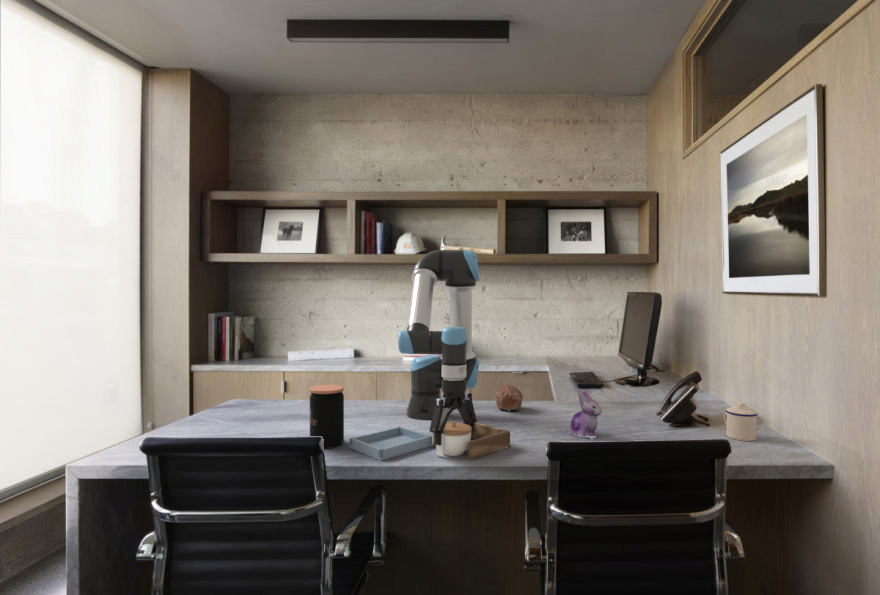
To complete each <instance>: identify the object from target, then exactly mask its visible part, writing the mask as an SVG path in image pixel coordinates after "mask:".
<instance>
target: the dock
mask: <svg viewBox="0 0 880 595" xmlns="http://www.w3.org/2000/svg"><path fill="white" fill-rule="evenodd" d="M463 424H465V423H464V422H463ZM432 435H433V437H432V446H433V448H435V449H436V444H435V433H432ZM474 438H475V439H474ZM472 439H473V440H472ZM509 446H510V447H511V431H510V430H507V429H503V428H500V427H495V426H492V425H488V424H483V423H482V422H481V423H480V422H476V423H475V425H474V427H473V426H472V435H471V441H469V448H468V460H471V461H473V460H476V459H479V458H483V457H486V456H487V454H488V455H491V454H494V453H496V452H495V451H497V452H499V451H498V450H500V451H502V450H501V449H503V448H506V447H509ZM510 447H509V448H510ZM506 449H507V448H506ZM503 450H504V449H503ZM493 452H494V453H493ZM490 453H491V454H490Z"/></svg>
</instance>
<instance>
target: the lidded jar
mask: <svg viewBox="0 0 880 595" xmlns="http://www.w3.org/2000/svg"><path fill="white" fill-rule="evenodd" d="M463 423H464V422H463ZM463 423H462V422H456V421H452V422H447V423H446V425H445V428H444V430H443V434H445V456H451V457H459V456H462V455H463V454H464V453H465V452H466V451H467V450H469V448H468V447H469V441H472V438H471V431H472V428H471V426H470V425H467V424H463ZM439 430H440V428H439Z"/></svg>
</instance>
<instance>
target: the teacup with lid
mask: <svg viewBox="0 0 880 595" xmlns="http://www.w3.org/2000/svg"><path fill="white" fill-rule="evenodd" d="M723 420H724V423H725V425H726V429H725V430H726V436H727V438H729V439H733V440H736V441H741V442H743V441H744V442H754V441H756V440H757V435H758V434H757V432H758V429H757V426H758V425H757V424H758V423H757V422H758V421H757V420H758V412H757V410H754V409H753V408H751V407H749V406H746V403H745V402H741V401H739V402H738V403H737V405H734V406H730V407H726V409H725V413H724V414H723Z"/></svg>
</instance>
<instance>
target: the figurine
mask: <svg viewBox="0 0 880 595" xmlns="http://www.w3.org/2000/svg"><path fill="white" fill-rule="evenodd" d="M577 396H578V399H579V404H580V408H581V410H579V411H578V412H576V413H575V414H574V415H573V416H572V418H571V422H570V434H571V433H572V434H576V435H582V436H596V434H597V432H596V431H597V427H598V419H597V417H599V416H600V415H601V414H602V412H603V409H602V407H601V406H600V404H599V403H598V402H597V401H596V400H594V399H593V397H591V395H590V393H589V392H588V391H587V390H585V389H583V390H582V392H578V393H577ZM572 434H571V435H572Z"/></svg>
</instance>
